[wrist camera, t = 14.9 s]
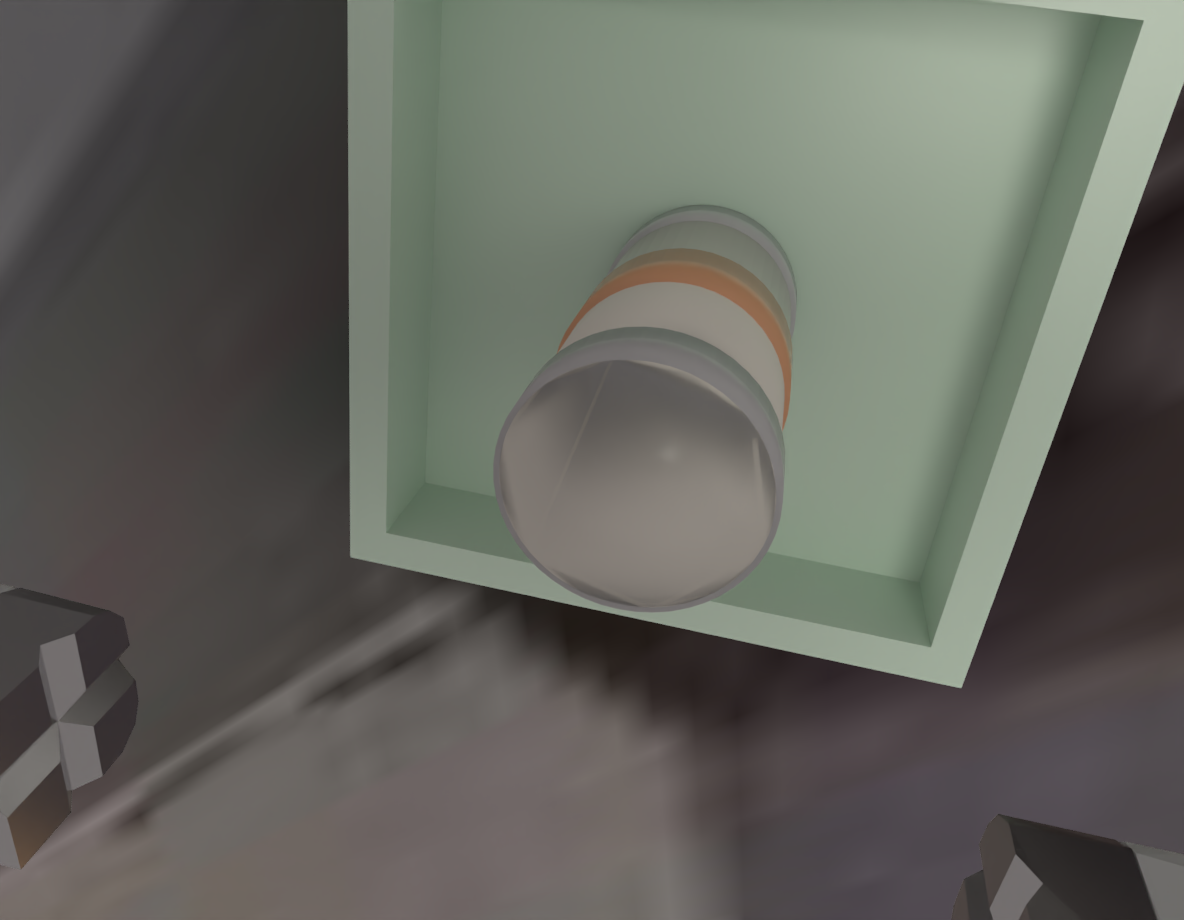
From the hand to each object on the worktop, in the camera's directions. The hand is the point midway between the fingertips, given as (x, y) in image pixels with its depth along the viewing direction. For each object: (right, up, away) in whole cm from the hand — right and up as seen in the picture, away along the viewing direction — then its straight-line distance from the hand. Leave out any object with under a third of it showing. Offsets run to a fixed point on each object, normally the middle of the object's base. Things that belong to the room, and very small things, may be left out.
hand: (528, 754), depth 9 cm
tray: (+4, +7, +15) cm, 17 cm away
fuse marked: (+3, +7, +15) cm, 17 cm away
